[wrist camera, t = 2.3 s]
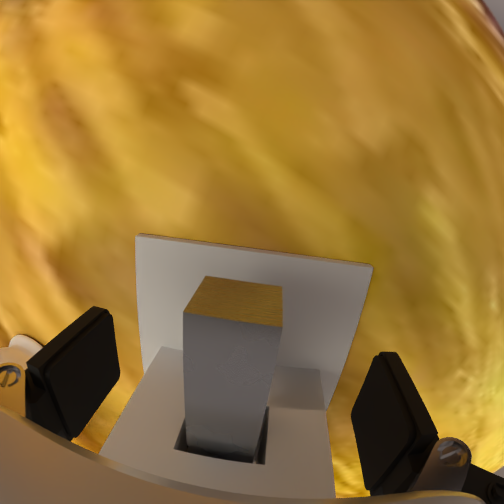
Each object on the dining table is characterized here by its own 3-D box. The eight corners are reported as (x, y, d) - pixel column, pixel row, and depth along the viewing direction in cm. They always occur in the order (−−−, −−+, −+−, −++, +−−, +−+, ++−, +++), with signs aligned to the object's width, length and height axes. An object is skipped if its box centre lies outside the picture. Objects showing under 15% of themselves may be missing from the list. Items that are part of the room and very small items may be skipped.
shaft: (205, 275, 11) (182, 311, 9) (282, 286, 11) (282, 326, 8) (202, 495, 17) (195, 522, 15) (238, 500, 17) (234, 529, 14)
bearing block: (139, 233, 16) (12, 313, 6) (370, 264, 15) (459, 384, 6) (159, 444, 22) (125, 528, 12) (298, 466, 21) (297, 557, 12)
